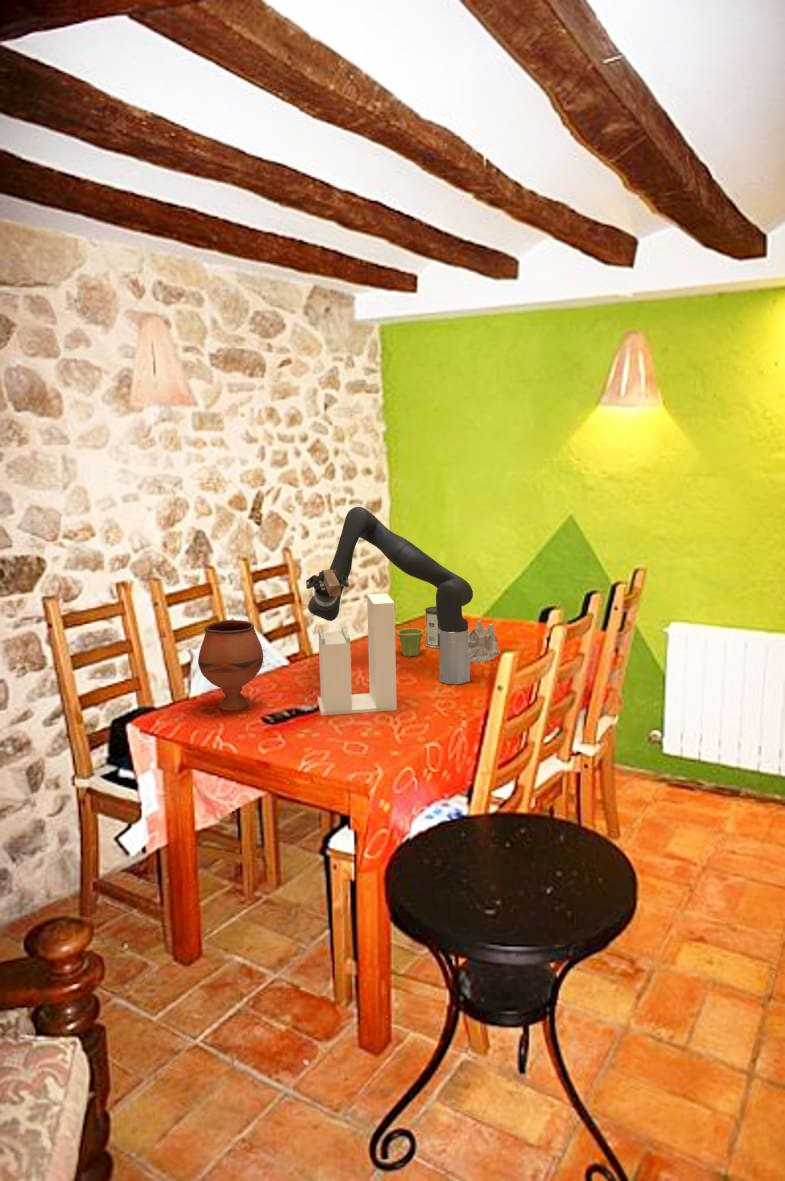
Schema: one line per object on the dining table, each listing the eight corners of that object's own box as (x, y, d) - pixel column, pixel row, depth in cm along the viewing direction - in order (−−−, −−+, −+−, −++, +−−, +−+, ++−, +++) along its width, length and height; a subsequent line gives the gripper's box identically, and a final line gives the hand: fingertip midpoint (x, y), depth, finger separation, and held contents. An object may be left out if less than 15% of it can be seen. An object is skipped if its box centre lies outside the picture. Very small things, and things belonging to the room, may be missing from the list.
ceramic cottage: (507, 656, 287) (505, 615, 285) (473, 667, 278) (470, 624, 275) (478, 650, 300) (475, 611, 297) (444, 660, 290) (441, 619, 288)
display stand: (389, 695, 248) (386, 593, 242) (396, 710, 234) (394, 602, 228) (317, 700, 245) (313, 597, 238) (321, 715, 231) (316, 606, 225)
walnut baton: (332, 579, 246) (332, 569, 245) (340, 596, 221) (340, 585, 220) (322, 579, 246) (322, 569, 245) (329, 596, 220) (329, 585, 220)
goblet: (214, 721, 228) (208, 636, 223) (192, 703, 244) (187, 623, 239) (276, 708, 238) (272, 626, 233) (251, 691, 254) (247, 614, 249)
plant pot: (413, 659, 286) (413, 636, 285) (392, 655, 292) (392, 632, 290) (428, 653, 294) (428, 630, 292) (407, 649, 299) (407, 627, 298)
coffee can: (454, 642, 310) (454, 606, 307) (450, 649, 300) (450, 612, 297) (427, 641, 312) (427, 605, 309) (423, 648, 302) (423, 611, 299)
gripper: (303, 581, 256) (304, 562, 239) (347, 579, 258) (351, 560, 242) (304, 604, 253) (306, 586, 237) (349, 601, 255) (353, 583, 239)
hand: (329, 573), depth 239 cm, fingers closed on walnut baton, 3 cm apart
